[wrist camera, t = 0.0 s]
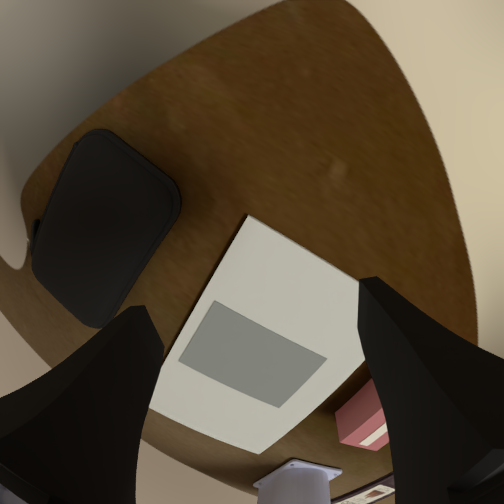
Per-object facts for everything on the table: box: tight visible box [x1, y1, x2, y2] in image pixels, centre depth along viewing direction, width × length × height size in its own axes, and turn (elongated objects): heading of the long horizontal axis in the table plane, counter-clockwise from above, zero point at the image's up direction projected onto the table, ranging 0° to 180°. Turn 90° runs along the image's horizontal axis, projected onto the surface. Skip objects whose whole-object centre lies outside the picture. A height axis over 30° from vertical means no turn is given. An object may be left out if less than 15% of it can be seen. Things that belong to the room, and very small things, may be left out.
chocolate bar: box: [330, 472, 395, 504], centre depth 30 cm, size 9×1×18 cm
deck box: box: [335, 378, 389, 451], centre depth 21 cm, size 8×5×4 cm, turn 150°
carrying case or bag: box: [30, 129, 182, 329], centre depth 19 cm, size 11×3×15 cm
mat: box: [149, 215, 365, 454], centre depth 23 cm, size 22×14×1 cm, turn 150°
